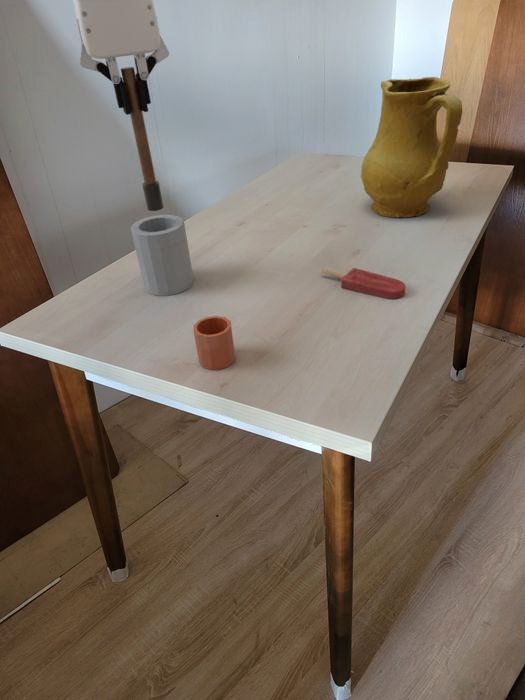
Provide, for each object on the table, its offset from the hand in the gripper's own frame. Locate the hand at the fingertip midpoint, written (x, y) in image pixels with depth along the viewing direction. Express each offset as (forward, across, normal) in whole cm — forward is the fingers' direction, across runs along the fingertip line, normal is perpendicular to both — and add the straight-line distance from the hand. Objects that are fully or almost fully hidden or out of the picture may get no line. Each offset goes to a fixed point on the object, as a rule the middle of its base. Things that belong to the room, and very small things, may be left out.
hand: (135, 110), depth 75 cm
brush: (+15, 0, 0) cm, 15 cm away
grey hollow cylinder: (+28, 0, 0) cm, 28 cm away
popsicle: (+29, -29, +16) cm, 44 cm away
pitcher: (+29, -53, -10) cm, 61 cm away
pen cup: (+28, -1, +25) cm, 38 cm away
